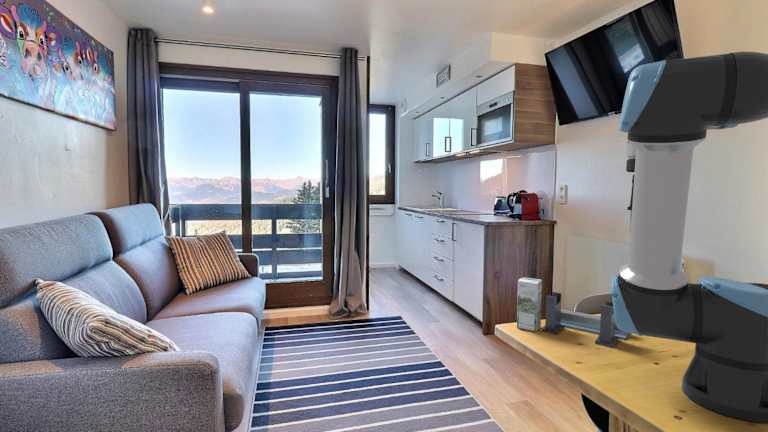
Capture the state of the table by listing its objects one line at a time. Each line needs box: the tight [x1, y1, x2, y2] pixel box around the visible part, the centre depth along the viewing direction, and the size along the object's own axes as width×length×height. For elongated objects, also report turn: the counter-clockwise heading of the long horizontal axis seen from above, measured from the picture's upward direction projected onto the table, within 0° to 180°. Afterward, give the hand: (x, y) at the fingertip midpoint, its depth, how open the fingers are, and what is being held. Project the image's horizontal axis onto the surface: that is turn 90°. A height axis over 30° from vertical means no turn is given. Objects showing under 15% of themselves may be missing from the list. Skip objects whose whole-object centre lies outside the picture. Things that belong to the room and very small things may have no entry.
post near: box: [594, 300, 620, 348], centre depth 106 cm, size 7×4×10 cm, turn 140°
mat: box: [561, 322, 630, 341], centre depth 117 cm, size 8×21×1 cm, turn 50°
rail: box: [561, 308, 626, 335], centre depth 117 cm, size 4×20×3 cm, turn 50°
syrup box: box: [516, 276, 543, 333], centre depth 116 cm, size 6×6×14 cm
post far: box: [540, 291, 565, 336], centre depth 115 cm, size 7×4×10 cm, turn 140°
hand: (638, 232), depth 114 cm, fingers open, 13 cm apart
